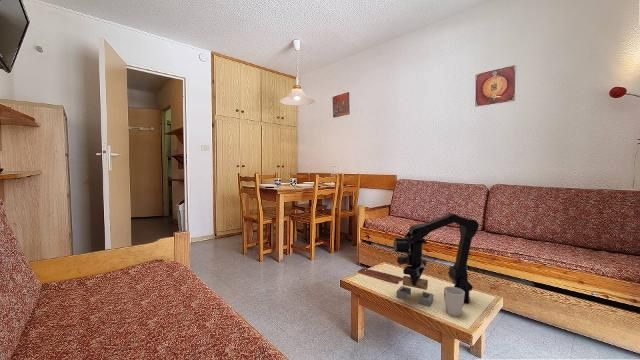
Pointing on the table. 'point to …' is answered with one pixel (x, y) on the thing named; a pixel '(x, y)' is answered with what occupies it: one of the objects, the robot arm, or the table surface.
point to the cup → (453, 300)
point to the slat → (420, 283)
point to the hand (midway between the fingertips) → (415, 283)
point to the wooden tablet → (381, 275)
